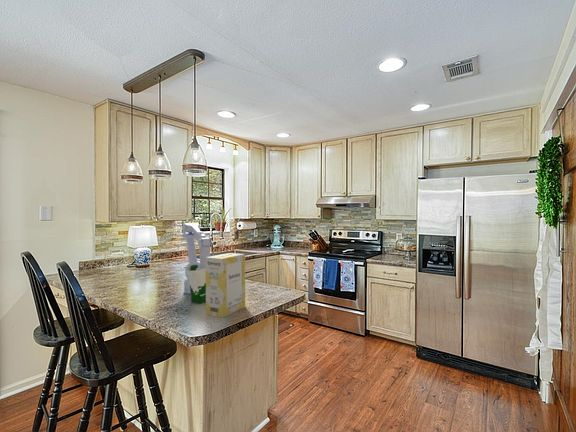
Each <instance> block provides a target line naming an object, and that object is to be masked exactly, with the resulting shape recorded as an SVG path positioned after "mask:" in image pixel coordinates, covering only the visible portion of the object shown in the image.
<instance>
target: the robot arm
mask: <svg viewBox="0 0 576 432" xmlns="http://www.w3.org/2000/svg"><path fill="white" fill-rule="evenodd" d="M181 231H182V236H183V238H185V241H186V247H187V249H186V250H187V256H188V263H187V265H186V266H185V271H184V272H185V273H184V274H185V277H186V278H185V279H184V282H183V294H188V295H189V294H190V295H191V292H190V283H189V277H188V273H187V271H189V270H190V266H192V265H198V268H196V270H200V269H203V268H206V257H210V256H211V247H212V242H213V241H212V238H211V237H210V236H207V235H206V234H205V233H204V232H203V231H201V226H200V223H199V222H183V223H182V225H181ZM195 240H196V241H197V245H198V251H199V261H198V259H197V250H196V244H195Z"/></svg>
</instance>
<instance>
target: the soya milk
mask: <svg viewBox="0 0 576 432" xmlns="http://www.w3.org/2000/svg"><path fill="white" fill-rule="evenodd" d="M196 268H198V265H192V266H190V270H189V271H187V273H188V277H189V283H190V292H191V294H190V302H191V303H194V304H199V305H200V304H203V303H204V302H205V303H206V268H203V269H200V270H196Z"/></svg>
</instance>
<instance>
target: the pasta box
mask: <svg viewBox="0 0 576 432" xmlns="http://www.w3.org/2000/svg"><path fill="white" fill-rule="evenodd" d="M244 308H246V254H245V253H237V252H235V253H233V252H227V253H222V254H216V255H210V257H206V301H205V314H206V315H208V316H213V317H218V318H225V317H227V316H229V315H231V314H234V313H236V312H238V311H239V310H241V309H244Z"/></svg>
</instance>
